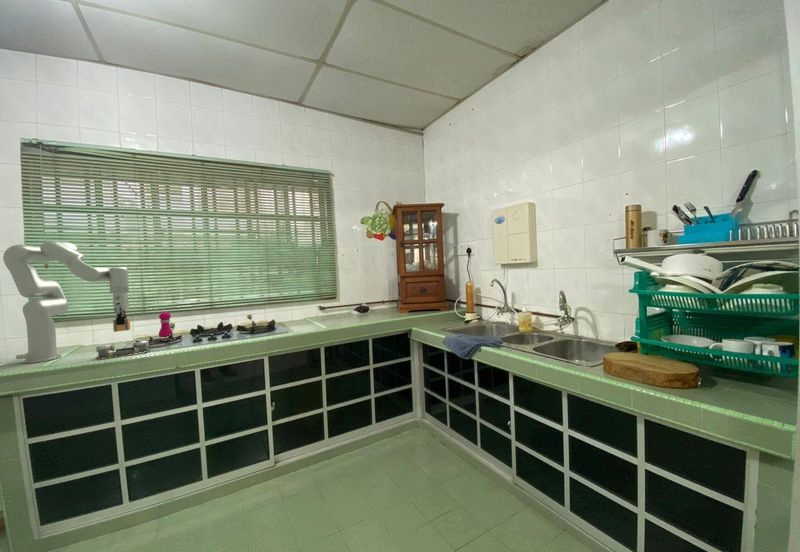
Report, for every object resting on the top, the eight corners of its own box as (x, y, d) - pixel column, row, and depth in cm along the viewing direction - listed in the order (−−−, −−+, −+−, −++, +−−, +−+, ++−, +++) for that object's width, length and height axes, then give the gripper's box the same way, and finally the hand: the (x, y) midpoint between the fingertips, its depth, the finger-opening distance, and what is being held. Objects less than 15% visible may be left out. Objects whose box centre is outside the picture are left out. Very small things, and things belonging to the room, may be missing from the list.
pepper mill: (168, 341, 192) (166, 310, 192) (156, 342, 192) (154, 310, 191) (175, 339, 199) (174, 308, 199) (164, 339, 199) (162, 309, 198)
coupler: (130, 328, 167) (129, 317, 167) (128, 330, 163) (127, 318, 163) (115, 330, 164) (115, 319, 164) (113, 331, 160) (112, 320, 160)
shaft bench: (94, 360, 154) (94, 347, 154) (100, 355, 162) (99, 344, 162) (147, 353, 165) (147, 341, 165) (150, 349, 174) (149, 338, 174)
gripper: (125, 290, 158) (127, 325, 158) (131, 289, 172) (133, 321, 172) (105, 291, 154) (108, 327, 154) (113, 290, 168) (116, 322, 168)
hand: (121, 323), depth 163 cm, fingers closed on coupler, 4 cm apart
